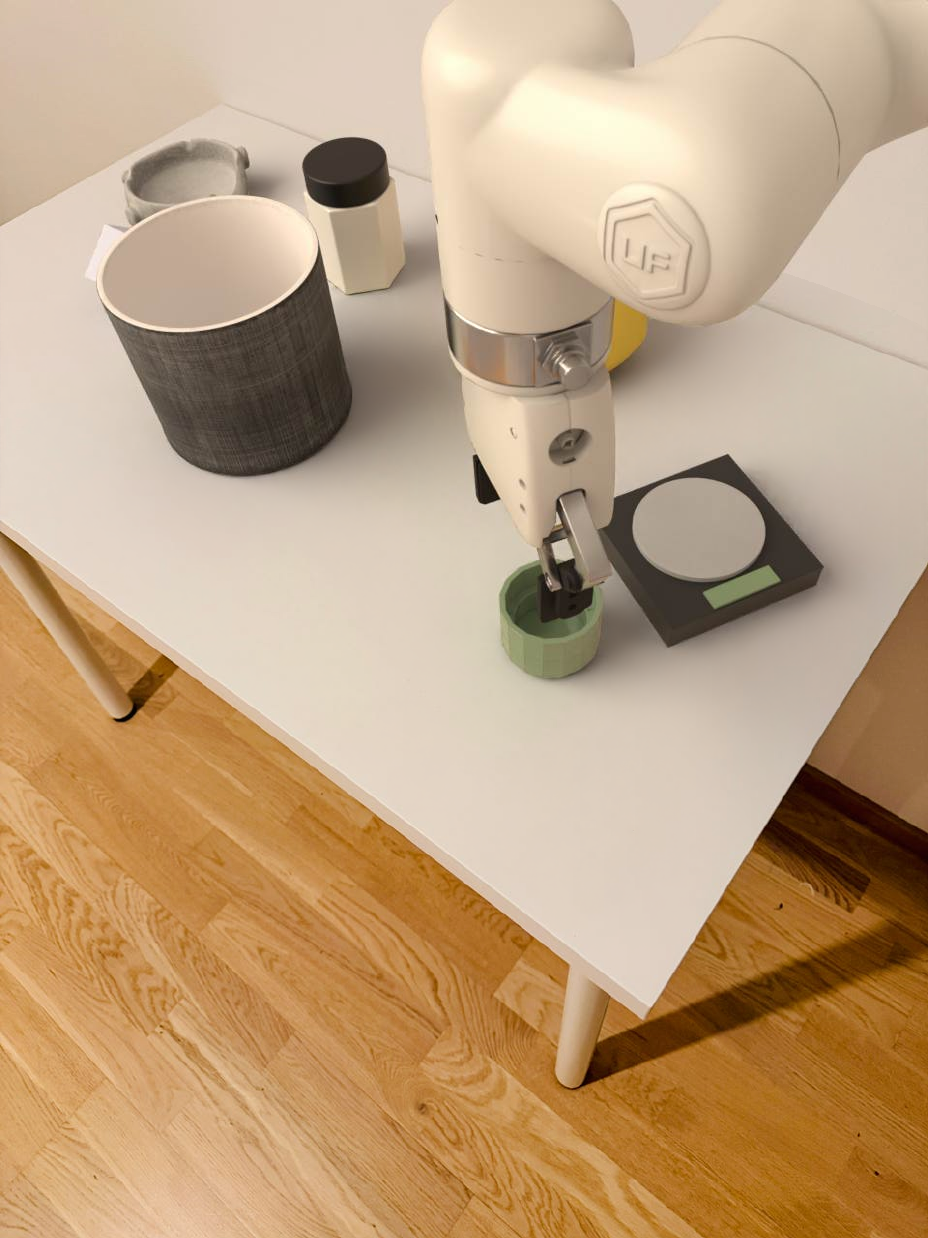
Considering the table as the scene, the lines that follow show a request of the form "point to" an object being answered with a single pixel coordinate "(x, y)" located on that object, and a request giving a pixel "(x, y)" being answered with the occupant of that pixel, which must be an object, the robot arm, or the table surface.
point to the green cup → (545, 628)
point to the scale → (704, 550)
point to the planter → (230, 331)
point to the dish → (183, 176)
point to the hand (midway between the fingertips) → (531, 550)
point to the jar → (354, 213)
